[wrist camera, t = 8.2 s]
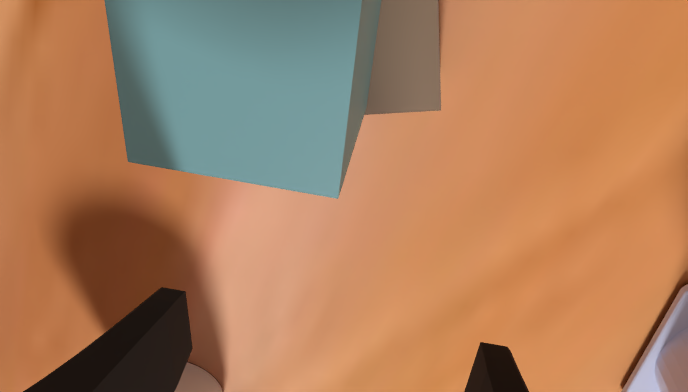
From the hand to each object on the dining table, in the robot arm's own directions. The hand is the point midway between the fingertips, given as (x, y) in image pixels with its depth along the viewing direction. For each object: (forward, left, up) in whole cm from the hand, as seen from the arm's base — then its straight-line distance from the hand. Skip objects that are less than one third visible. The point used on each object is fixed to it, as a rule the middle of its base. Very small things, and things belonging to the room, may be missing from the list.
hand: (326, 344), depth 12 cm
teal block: (+3, -6, -7) cm, 9 cm away
